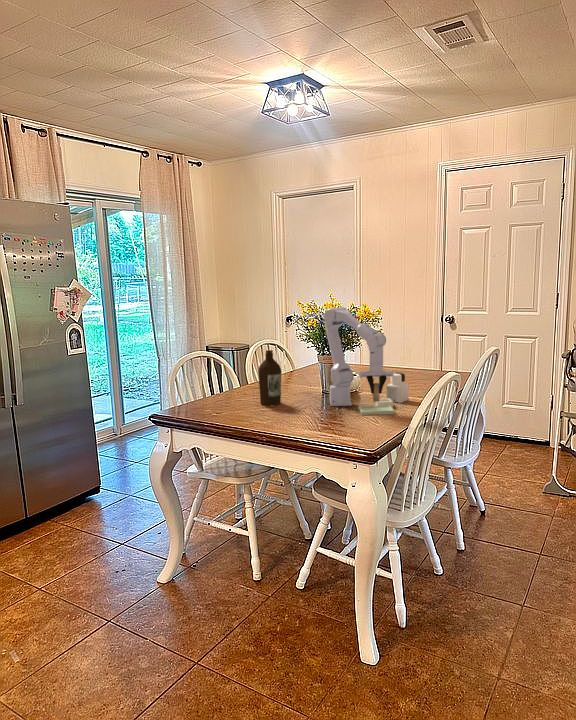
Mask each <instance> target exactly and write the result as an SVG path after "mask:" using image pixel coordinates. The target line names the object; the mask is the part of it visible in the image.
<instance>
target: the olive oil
mask: <svg viewBox="0 0 576 720" xmlns="http://www.w3.org/2000/svg"><path fill="white" fill-rule="evenodd" d="M257 370H258V385H259V399H260V400H259V401H260V405H261V404H264V405H263V406H265V405H274V406H277V405H276V404H279V403H280V404H282V403H281V401H282V398H281V397H282V395H281V394H282V392H281V391H282V390H281V388H282V368H281V365H280V364H279V363H278V362H277V361H276V360H275V359H274V353H273V350H272V349H266V350H265V359H264V360H263V361H262V363H260V365H259V366H258V369H257ZM280 404H279V405H280Z"/></svg>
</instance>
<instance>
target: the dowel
mask: <svg viewBox="0 0 576 720" xmlns="http://www.w3.org/2000/svg"><path fill="white" fill-rule="evenodd" d="M373 390H374V394H372V402H379V401H380V399H381V398H380V395H381V394H380V384H379V382H378V383H377V382H376V383H375V382H373Z"/></svg>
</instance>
